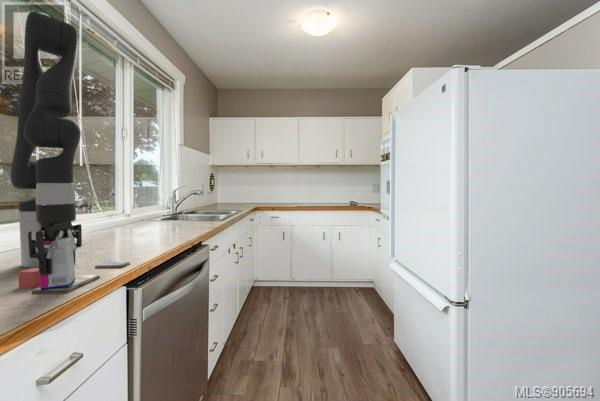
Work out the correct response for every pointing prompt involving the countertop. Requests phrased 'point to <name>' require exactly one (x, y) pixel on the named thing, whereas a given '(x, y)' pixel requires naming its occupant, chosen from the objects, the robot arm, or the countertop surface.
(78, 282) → the track
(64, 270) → the supplement box
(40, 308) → the countertop surface
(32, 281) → the cube
